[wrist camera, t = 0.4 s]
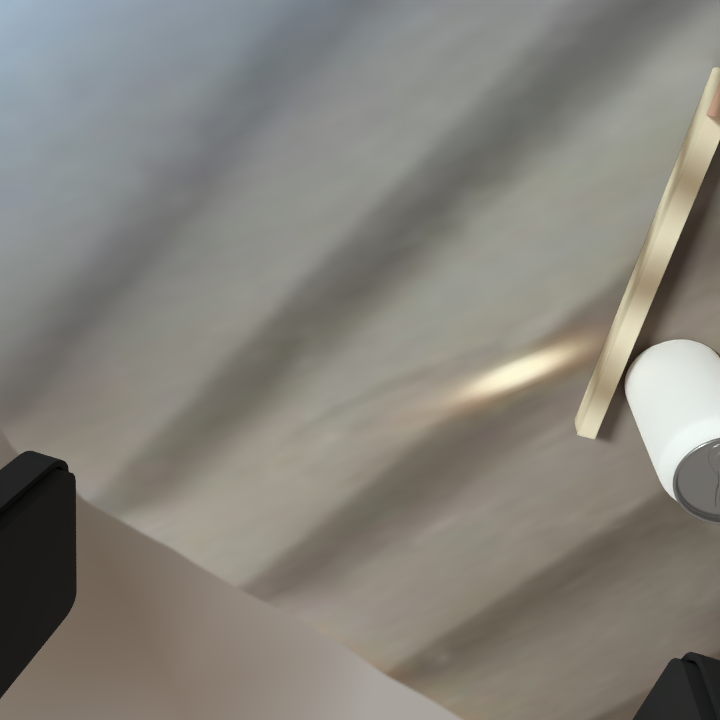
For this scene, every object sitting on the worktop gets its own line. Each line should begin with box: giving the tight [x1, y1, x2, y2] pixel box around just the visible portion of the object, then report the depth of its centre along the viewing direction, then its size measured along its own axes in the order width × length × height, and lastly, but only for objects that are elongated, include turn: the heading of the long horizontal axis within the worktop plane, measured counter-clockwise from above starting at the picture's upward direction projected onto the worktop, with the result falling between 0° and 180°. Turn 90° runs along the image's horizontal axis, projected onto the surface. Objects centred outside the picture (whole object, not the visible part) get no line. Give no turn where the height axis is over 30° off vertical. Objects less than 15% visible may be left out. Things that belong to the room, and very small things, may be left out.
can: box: [625, 339, 720, 525], centre depth 37 cm, size 6×6×12 cm
